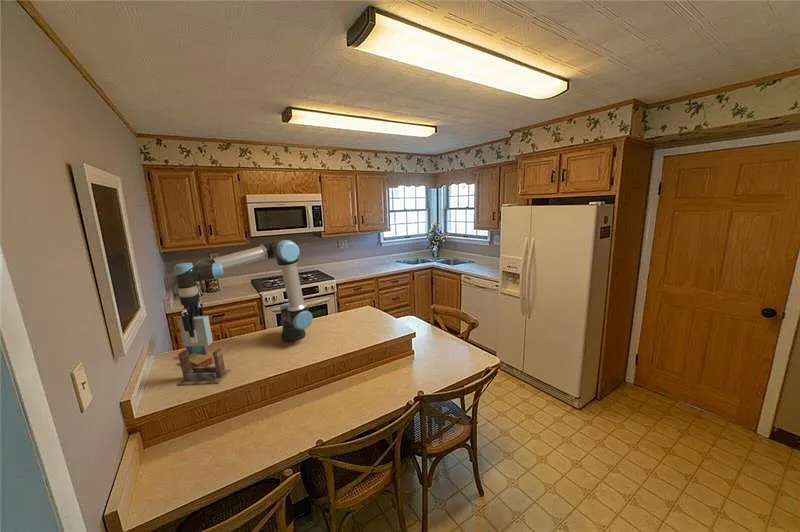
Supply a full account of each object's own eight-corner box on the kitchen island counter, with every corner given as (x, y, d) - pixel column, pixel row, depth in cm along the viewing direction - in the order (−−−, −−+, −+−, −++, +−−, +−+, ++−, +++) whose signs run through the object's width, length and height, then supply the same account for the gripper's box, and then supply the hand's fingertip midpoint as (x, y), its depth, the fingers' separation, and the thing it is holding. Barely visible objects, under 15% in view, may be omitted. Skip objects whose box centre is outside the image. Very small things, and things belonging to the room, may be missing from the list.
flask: (205, 352, 185) (202, 335, 183) (207, 353, 183) (204, 336, 181) (187, 358, 178) (184, 341, 176) (189, 359, 176) (185, 342, 174)
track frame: (231, 370, 162) (226, 344, 159) (218, 383, 150) (212, 356, 147) (193, 372, 162) (188, 346, 159) (177, 385, 150) (171, 358, 147)
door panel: (213, 341, 154) (208, 315, 152) (208, 345, 150) (202, 318, 147) (189, 342, 155) (184, 316, 152) (183, 346, 150) (178, 319, 148)
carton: (198, 371, 164) (196, 363, 163) (181, 365, 171) (180, 358, 170) (213, 363, 171) (212, 356, 170) (197, 358, 179) (195, 351, 178)
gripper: (193, 290, 156) (201, 333, 160) (167, 301, 139) (178, 348, 144) (207, 289, 156) (215, 332, 160) (184, 300, 139) (194, 348, 143)
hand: (197, 340), depth 152 cm, fingers closed on door panel, 4 cm apart
